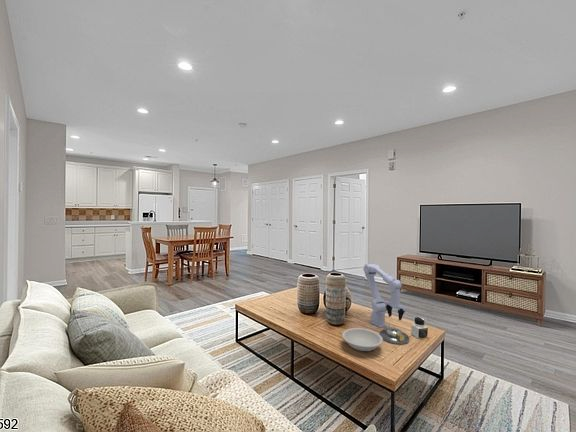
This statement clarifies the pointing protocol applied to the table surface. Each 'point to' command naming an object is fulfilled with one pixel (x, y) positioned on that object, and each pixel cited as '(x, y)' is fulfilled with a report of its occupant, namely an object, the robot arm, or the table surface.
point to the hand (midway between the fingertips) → (395, 318)
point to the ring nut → (394, 333)
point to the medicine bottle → (419, 328)
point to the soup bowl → (362, 339)
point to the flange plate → (394, 340)
